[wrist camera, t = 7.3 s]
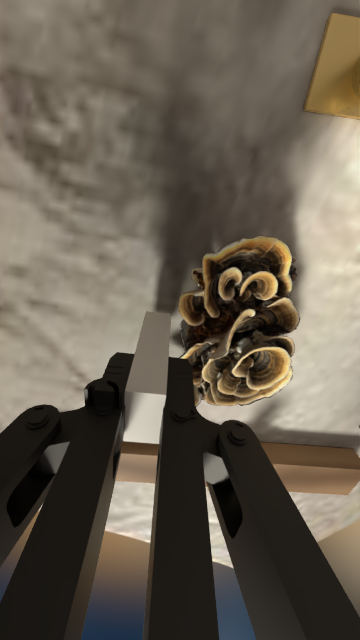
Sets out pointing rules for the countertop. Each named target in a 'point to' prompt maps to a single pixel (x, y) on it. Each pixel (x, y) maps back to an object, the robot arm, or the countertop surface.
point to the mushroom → (240, 322)
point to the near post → (337, 70)
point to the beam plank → (288, 460)
